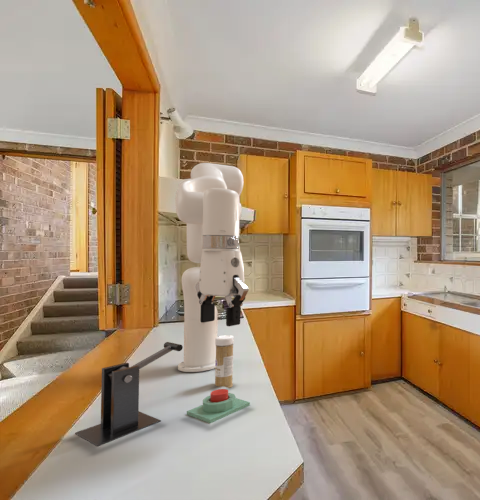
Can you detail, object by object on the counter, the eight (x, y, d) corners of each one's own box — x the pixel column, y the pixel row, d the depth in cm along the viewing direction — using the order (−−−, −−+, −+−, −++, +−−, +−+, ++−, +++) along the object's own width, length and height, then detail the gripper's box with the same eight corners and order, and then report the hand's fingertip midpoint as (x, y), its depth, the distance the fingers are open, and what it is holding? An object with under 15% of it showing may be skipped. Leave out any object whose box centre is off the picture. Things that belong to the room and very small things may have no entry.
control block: (226, 402, 83) (226, 387, 83) (249, 409, 79) (250, 394, 80) (186, 419, 75) (186, 402, 75) (210, 428, 71) (210, 410, 71)
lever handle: (171, 348, 80) (168, 338, 80) (184, 350, 78) (181, 341, 77) (108, 383, 70) (104, 373, 69) (121, 388, 67) (117, 377, 66)
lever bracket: (137, 416, 76) (138, 357, 76) (160, 426, 72) (162, 363, 72) (74, 438, 66) (76, 371, 67) (97, 452, 62) (98, 379, 62)
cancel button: (221, 395, 80) (221, 387, 80) (231, 398, 78) (231, 390, 78) (206, 401, 76) (206, 393, 76) (217, 404, 75) (217, 396, 75)
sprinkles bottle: (211, 387, 93) (212, 336, 93) (227, 383, 96) (228, 334, 97) (219, 391, 90) (220, 339, 90) (236, 386, 93) (237, 336, 94)
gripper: (261, 244, 77) (260, 324, 76) (211, 246, 85) (210, 317, 85) (232, 243, 70) (231, 330, 70) (181, 244, 79) (180, 322, 79)
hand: (220, 323), depth 78 cm, fingers open, 8 cm apart
